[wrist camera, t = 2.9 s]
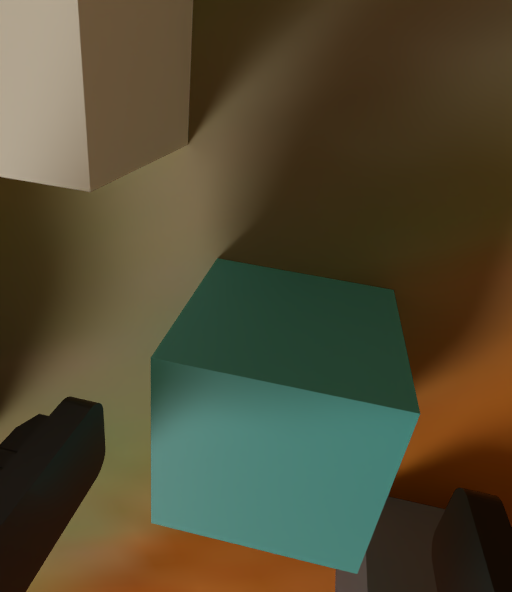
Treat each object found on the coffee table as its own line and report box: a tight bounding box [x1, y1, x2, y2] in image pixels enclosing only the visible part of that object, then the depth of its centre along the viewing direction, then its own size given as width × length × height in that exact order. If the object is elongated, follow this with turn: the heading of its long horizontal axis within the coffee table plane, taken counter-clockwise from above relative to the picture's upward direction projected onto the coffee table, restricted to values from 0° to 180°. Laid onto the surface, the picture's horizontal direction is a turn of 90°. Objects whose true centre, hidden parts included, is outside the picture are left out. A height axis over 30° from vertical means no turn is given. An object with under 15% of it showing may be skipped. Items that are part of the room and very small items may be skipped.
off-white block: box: [0, 0, 193, 192], centre depth 8 cm, size 5×5×5 cm
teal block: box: [151, 258, 420, 574], centre depth 11 cm, size 5×5×5 cm
